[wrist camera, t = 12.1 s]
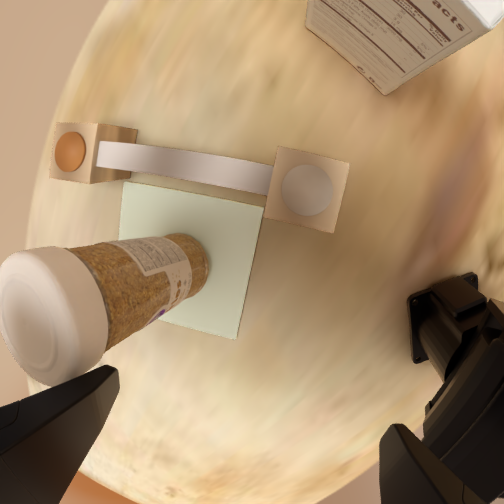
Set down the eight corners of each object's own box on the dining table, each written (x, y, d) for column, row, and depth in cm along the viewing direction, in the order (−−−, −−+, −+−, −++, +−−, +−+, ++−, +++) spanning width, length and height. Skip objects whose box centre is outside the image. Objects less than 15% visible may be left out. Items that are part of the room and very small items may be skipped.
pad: (264, 207, 19) (263, 208, 19) (236, 337, 22) (235, 340, 22) (126, 181, 20) (123, 181, 19) (119, 304, 23) (116, 306, 22)
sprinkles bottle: (187, 310, 20) (55, 414, 7) (140, 269, 21) (-17, 321, 7) (224, 259, 20) (93, 328, 6) (172, 217, 20) (6, 221, 7)
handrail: (333, 163, 18) (351, 163, 13) (321, 216, 19) (334, 234, 14) (99, 127, 19) (53, 122, 14) (92, 172, 20) (46, 178, 15)
